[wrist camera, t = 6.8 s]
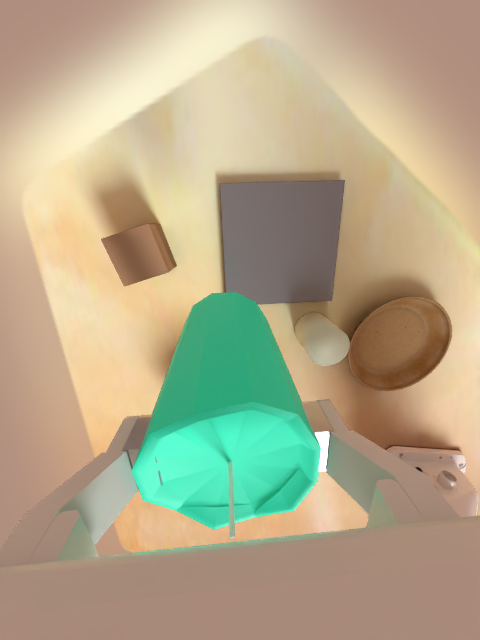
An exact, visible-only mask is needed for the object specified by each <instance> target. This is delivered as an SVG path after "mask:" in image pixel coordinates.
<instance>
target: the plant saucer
mask: <svg viewBox="0 0 480 640" xmlns="http://www.w3.org/2000/svg"><path fill="white" fill-rule="evenodd" d="M451 337H452V325H451V321H450V318H449V316H448V314H447V312H446V311H445V309H444V308H443V307H442V306H441V305H440V304H438V303H437V302H435V301H433V300H431V299H428V298H424V297H416V296H412V297H403V298H399V299H395V300H392V301H390V302H388V303H385V304H384V305H382V306H380V307H378V308H377V309H375V310H374V311H373V312H371V313H370V314H369V315H368V316H367V317H366V318H365V319H364V320H363V321H362V322H361V323H360V325H359V326H358V327H357V329H356V331H355V332H354V334H353V337H352V339H351V342H350V348H349V352H348V361H349V366H350V369H351V371H352V373H353V375H354V376H355V378H356V379H357V380H358V381H359V382H360V383H362V384H363V385H365V386H367V387H369V388H371V389H375V390H380V391H392V390H398V389H403V388H406V387H409V386H411V385H413V384H415V383H417V382H419V381H421V380H422V379H424V378H425V377H426V376H428V375H429V374H430V373H431V372H432V371H433V370H434V369H435V368H436V367H437V366H438V365H439V364H440V362H441V361H442V359H443V357H444V356H445V354H446V352H447V350H448V348H449V345H450V341H451Z"/></svg>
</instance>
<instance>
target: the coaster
mask: <svg viewBox="0 0 480 640" xmlns="http://www.w3.org/2000/svg"><path fill="white" fill-rule="evenodd" d="M344 183H345V180H337V181H296V182H255V183H220V194H221V212H222V231H223V249H224V267H225V285H226V293H227V292H236V293H238V294H240V295H242V296H245V297H247V298H249V299H251V300H253V301H255V302H256V304H274V303H294V302H313V301H332V294H333V285H334V276H335V266H336V257H337V248H338V238H339V229H340V220H341V211H342V201H343V192H344Z"/></svg>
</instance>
